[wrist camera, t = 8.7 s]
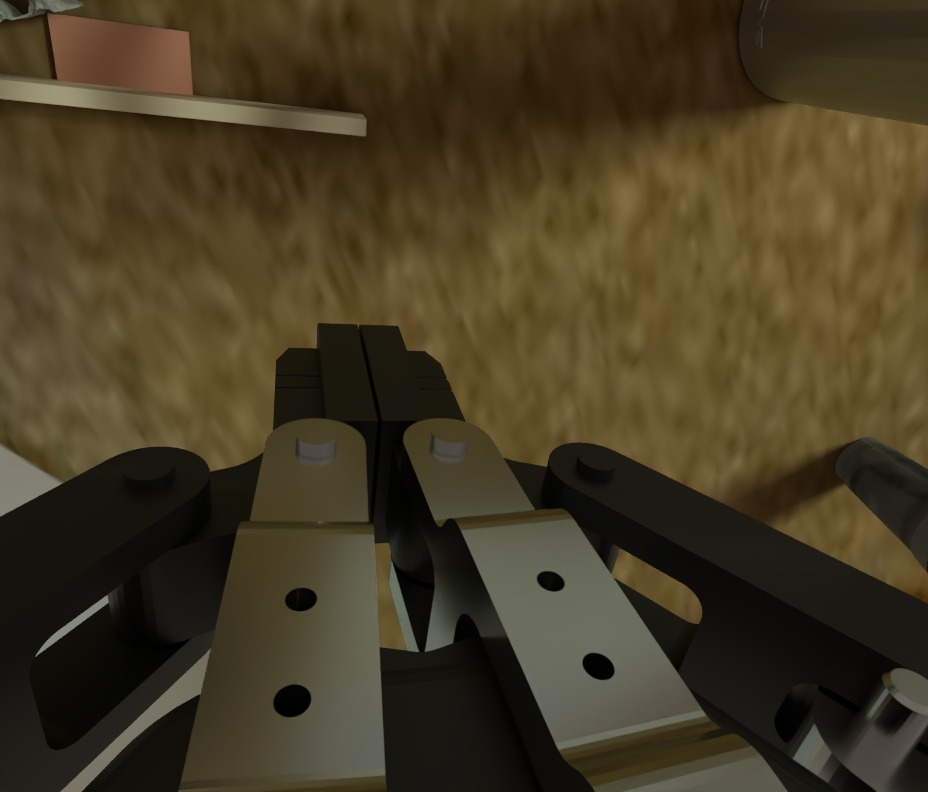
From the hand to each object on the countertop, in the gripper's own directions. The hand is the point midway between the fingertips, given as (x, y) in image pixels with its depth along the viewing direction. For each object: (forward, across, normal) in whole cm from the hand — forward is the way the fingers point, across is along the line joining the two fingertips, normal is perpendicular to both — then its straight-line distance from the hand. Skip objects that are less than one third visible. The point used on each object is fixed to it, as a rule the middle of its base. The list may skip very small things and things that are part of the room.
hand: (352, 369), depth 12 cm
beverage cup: (+27, -48, +22) cm, 59 cm away
